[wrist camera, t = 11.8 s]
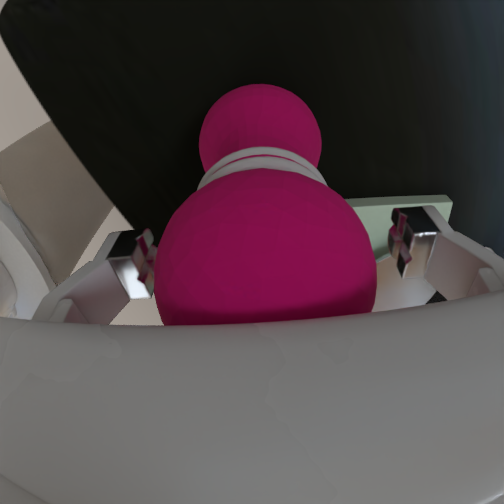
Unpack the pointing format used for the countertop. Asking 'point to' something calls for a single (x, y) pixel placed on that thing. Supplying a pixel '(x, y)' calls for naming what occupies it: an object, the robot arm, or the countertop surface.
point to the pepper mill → (262, 224)
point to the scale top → (398, 287)
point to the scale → (379, 215)
